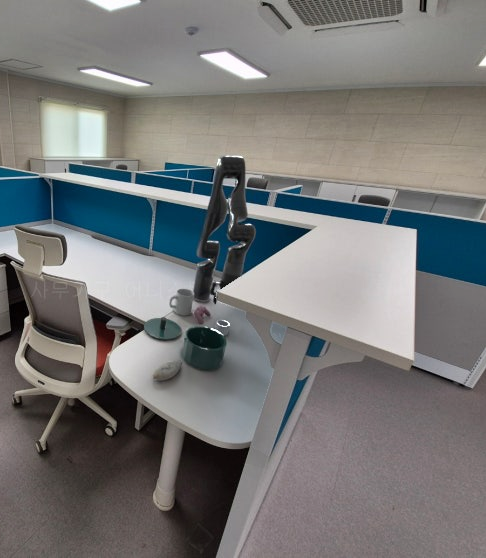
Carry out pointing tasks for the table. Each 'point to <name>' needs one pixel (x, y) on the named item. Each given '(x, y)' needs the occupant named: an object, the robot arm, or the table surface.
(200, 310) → the video game controller
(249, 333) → the table surface
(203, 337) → the pot
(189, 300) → the mug
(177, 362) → the decorative stone
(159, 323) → the lid
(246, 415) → the table surface
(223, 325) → the steel cup
